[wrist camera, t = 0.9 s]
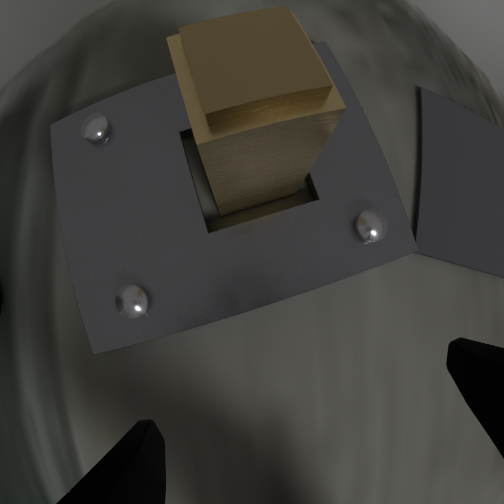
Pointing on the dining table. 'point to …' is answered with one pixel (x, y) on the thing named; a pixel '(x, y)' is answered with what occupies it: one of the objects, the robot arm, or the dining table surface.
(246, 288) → the square hole plate
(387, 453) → the dining table surface
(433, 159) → the rubber mat
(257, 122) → the stepped brass square peg
